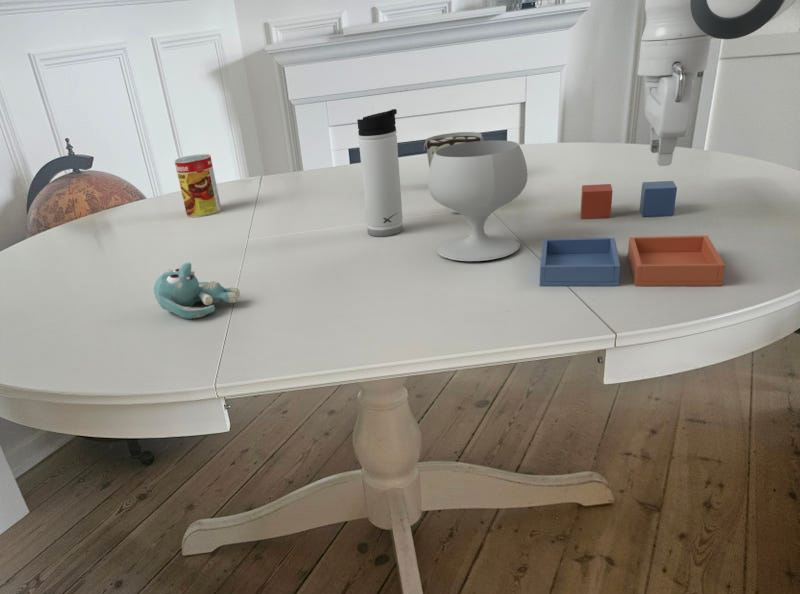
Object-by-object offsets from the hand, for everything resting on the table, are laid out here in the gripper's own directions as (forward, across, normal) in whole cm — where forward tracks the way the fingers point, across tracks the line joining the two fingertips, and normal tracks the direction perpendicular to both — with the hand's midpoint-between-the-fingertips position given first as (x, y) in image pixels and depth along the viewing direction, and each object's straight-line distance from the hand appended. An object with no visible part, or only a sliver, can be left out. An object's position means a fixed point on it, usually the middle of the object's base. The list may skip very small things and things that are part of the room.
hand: (659, 158), depth 97 cm
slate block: (+8, 0, 0) cm, 9 cm away
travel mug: (+9, -6, +42) cm, 44 cm away
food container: (+9, +28, +36) cm, 46 cm away
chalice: (+9, -17, +26) cm, 32 cm away
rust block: (+9, 0, +8) cm, 12 cm away
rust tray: (+8, -26, +1) cm, 27 cm away
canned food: (+10, +13, +90) cm, 91 cm away
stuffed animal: (+10, -40, +62) cm, 74 cm away
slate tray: (+9, -26, +12) cm, 30 cm away
